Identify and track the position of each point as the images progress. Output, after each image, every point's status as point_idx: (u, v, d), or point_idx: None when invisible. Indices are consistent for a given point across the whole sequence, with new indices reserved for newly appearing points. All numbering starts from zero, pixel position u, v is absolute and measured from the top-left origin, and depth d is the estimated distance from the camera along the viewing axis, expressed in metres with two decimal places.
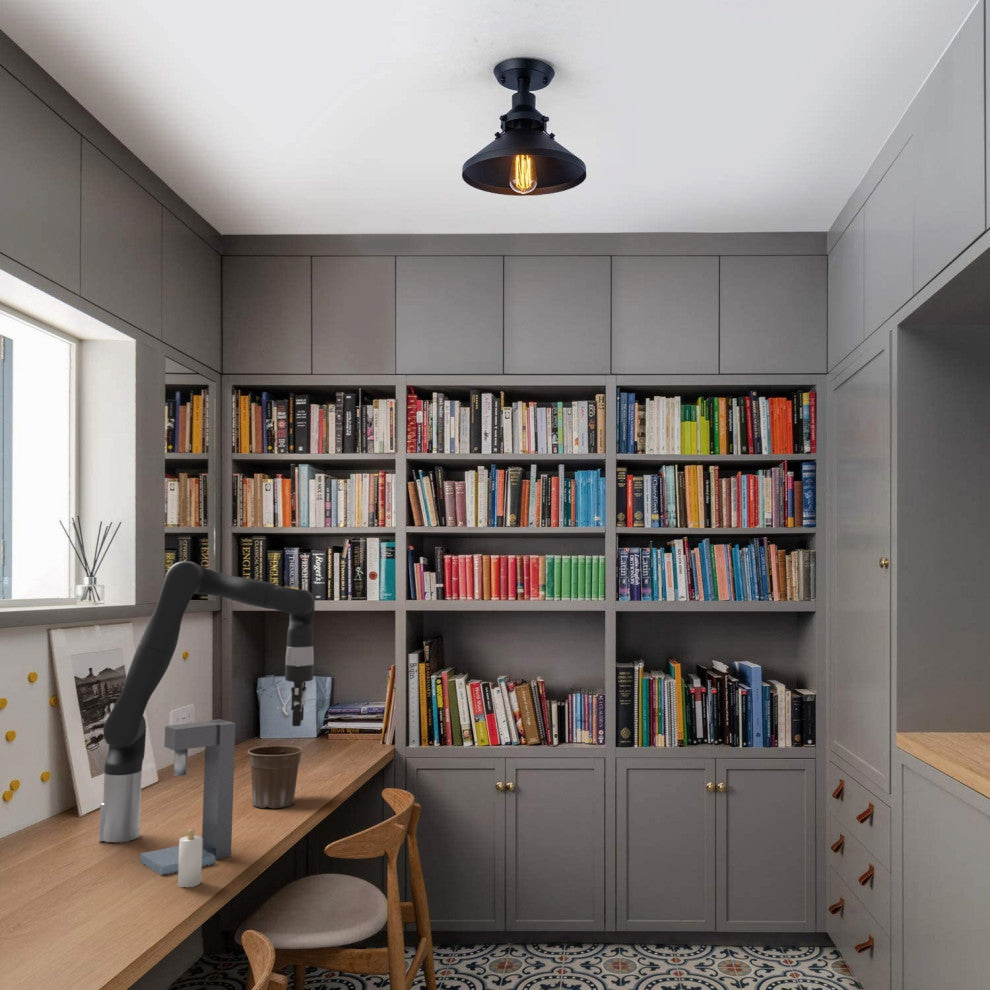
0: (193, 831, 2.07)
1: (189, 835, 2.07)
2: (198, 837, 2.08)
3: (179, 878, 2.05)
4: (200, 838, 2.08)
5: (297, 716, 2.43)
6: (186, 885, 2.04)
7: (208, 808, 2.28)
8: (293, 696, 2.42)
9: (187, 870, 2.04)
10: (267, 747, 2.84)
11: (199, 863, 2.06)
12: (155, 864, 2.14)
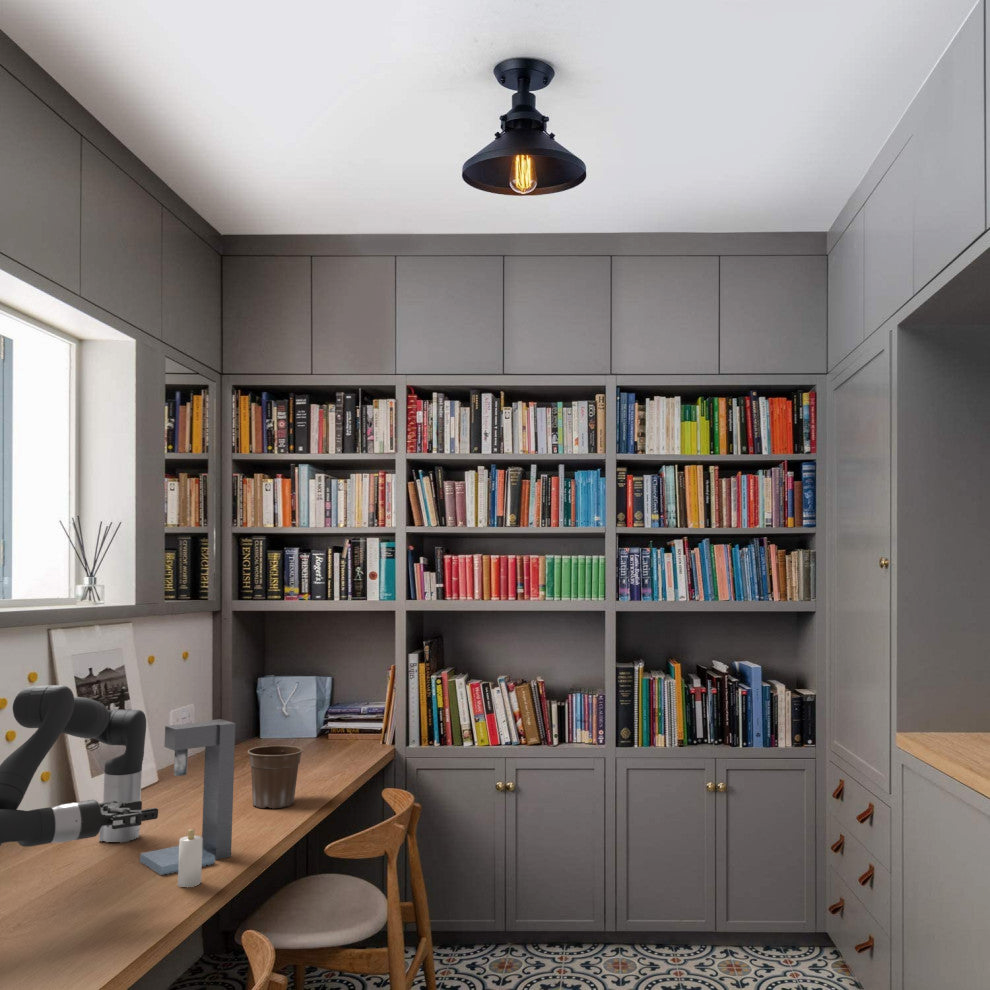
0: (193, 831, 2.07)
1: (189, 835, 2.07)
2: (198, 837, 2.08)
3: (179, 878, 2.05)
4: (200, 838, 2.08)
5: None
6: (186, 885, 2.04)
7: (208, 808, 2.28)
8: None
9: (187, 870, 2.04)
10: (267, 747, 2.84)
11: (199, 863, 2.06)
12: (155, 864, 2.14)
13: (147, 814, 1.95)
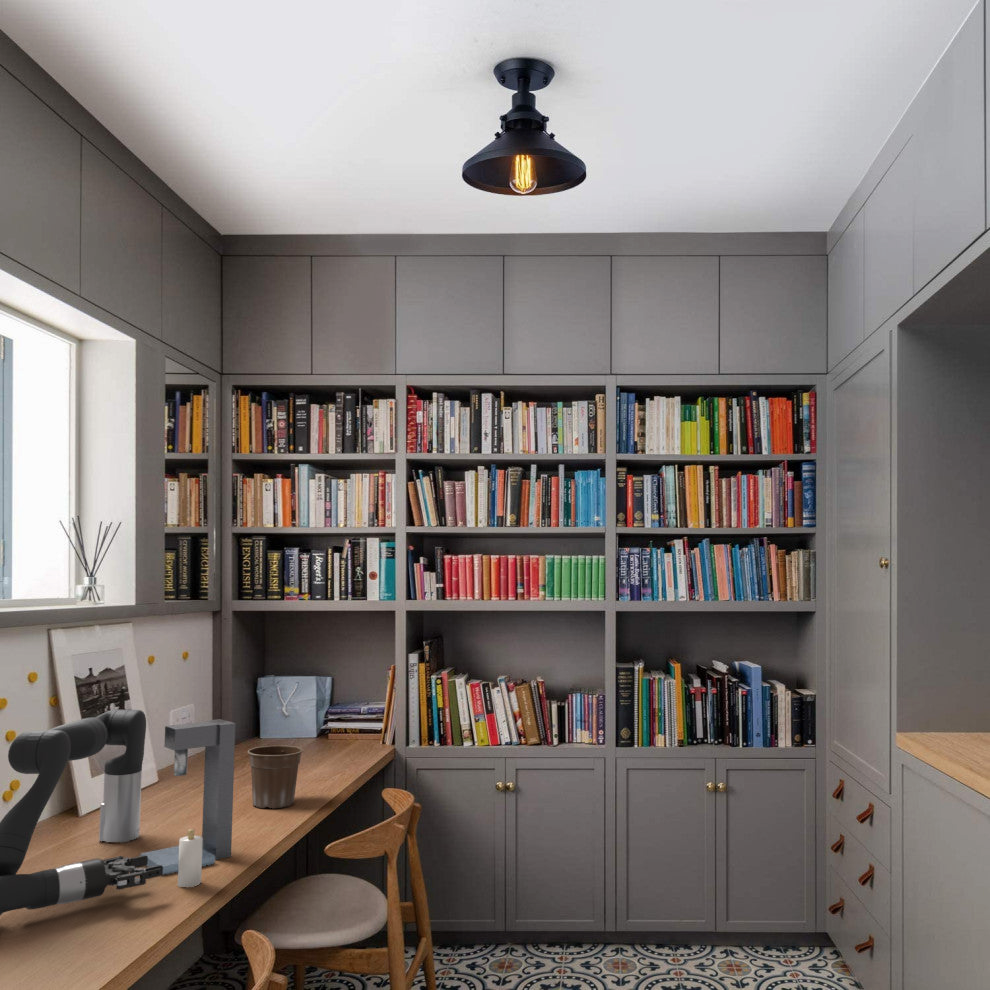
0: (193, 831, 2.07)
1: (189, 835, 2.07)
2: (198, 837, 2.08)
3: (179, 878, 2.05)
4: (200, 838, 2.08)
5: None
6: (186, 885, 2.04)
7: (208, 808, 2.28)
8: None
9: (187, 870, 2.04)
10: (267, 747, 2.84)
11: (199, 863, 2.06)
12: (155, 864, 2.14)
13: (152, 872, 1.96)
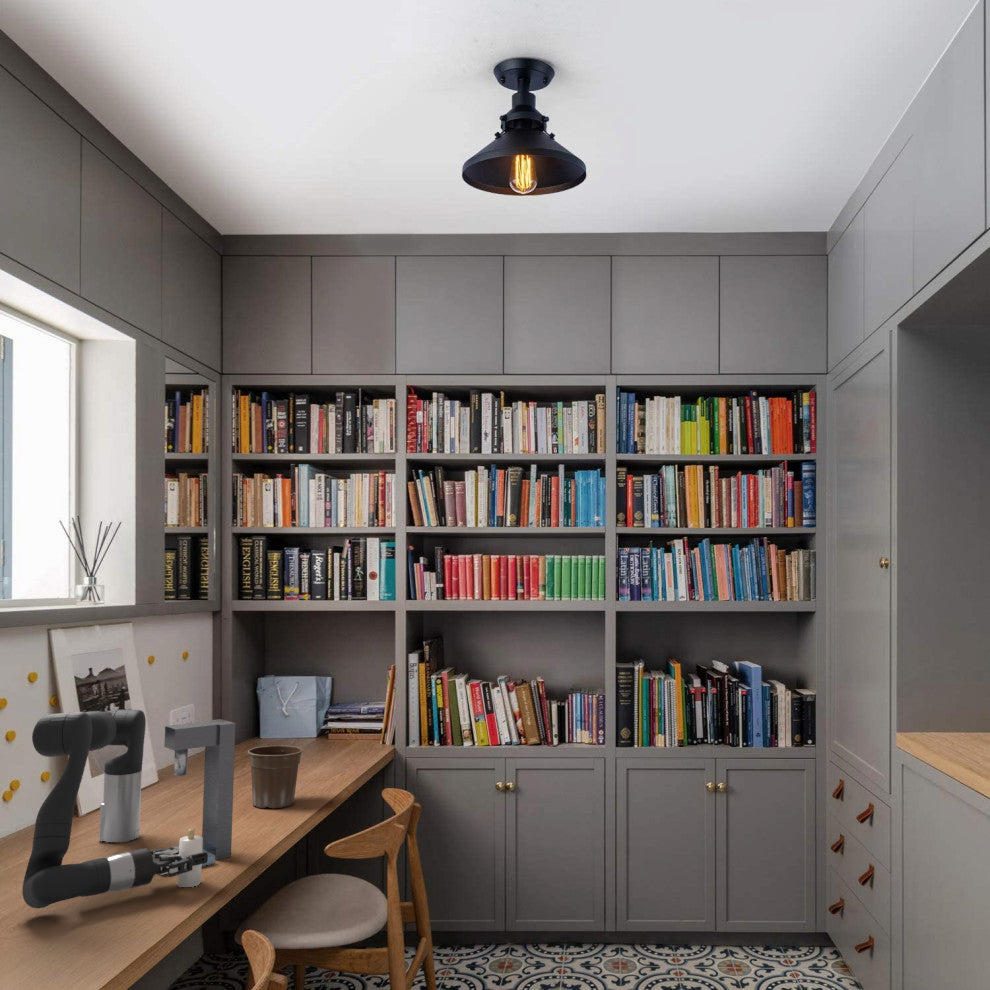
0: (193, 831, 2.07)
1: (189, 835, 2.07)
2: (198, 837, 2.08)
3: (179, 878, 2.05)
4: (200, 838, 2.08)
5: None
6: (186, 885, 2.04)
7: (208, 808, 2.28)
8: None
9: None
10: (267, 747, 2.84)
11: None
12: None
13: (197, 859, 2.04)
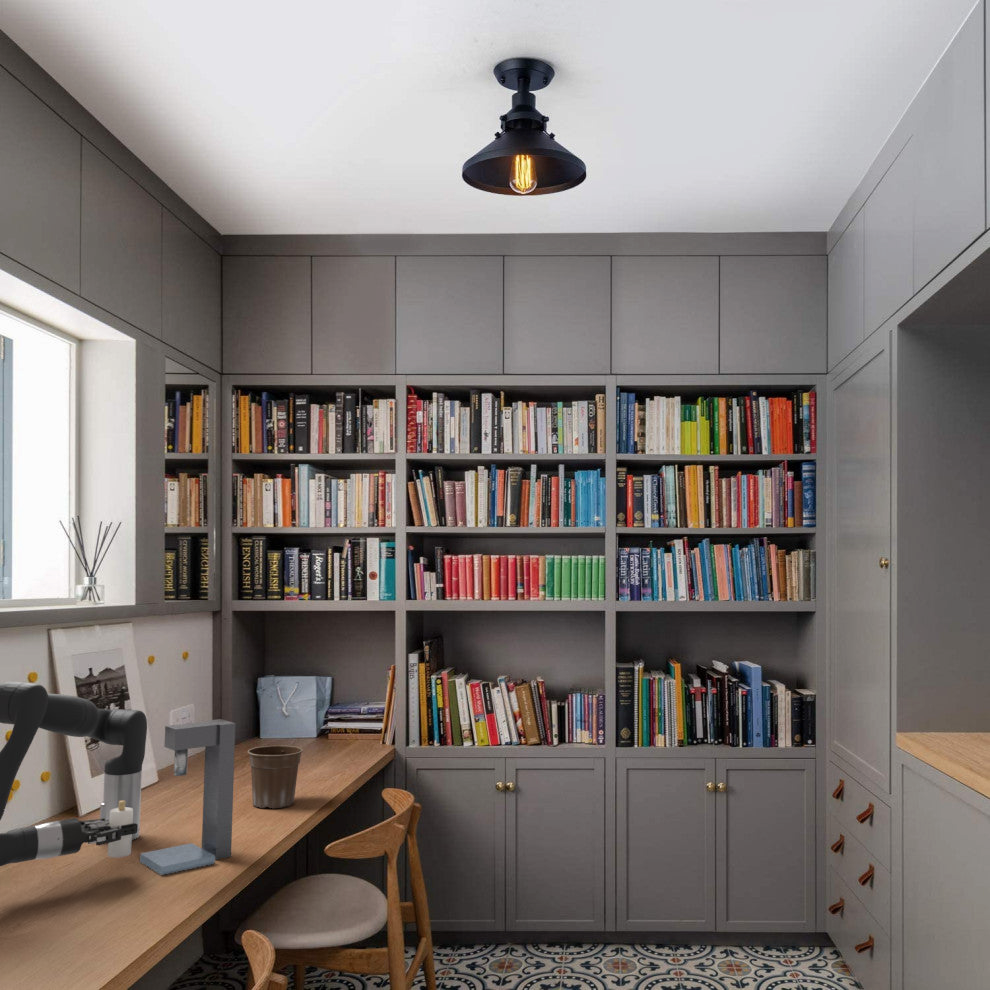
0: (124, 802, 2.13)
1: (119, 806, 2.12)
2: (129, 808, 2.14)
3: (109, 848, 2.10)
4: (130, 809, 2.13)
5: None
6: (115, 855, 2.09)
7: (208, 808, 2.28)
8: None
9: None
10: (267, 747, 2.84)
11: None
12: (155, 864, 2.14)
13: (127, 829, 2.10)
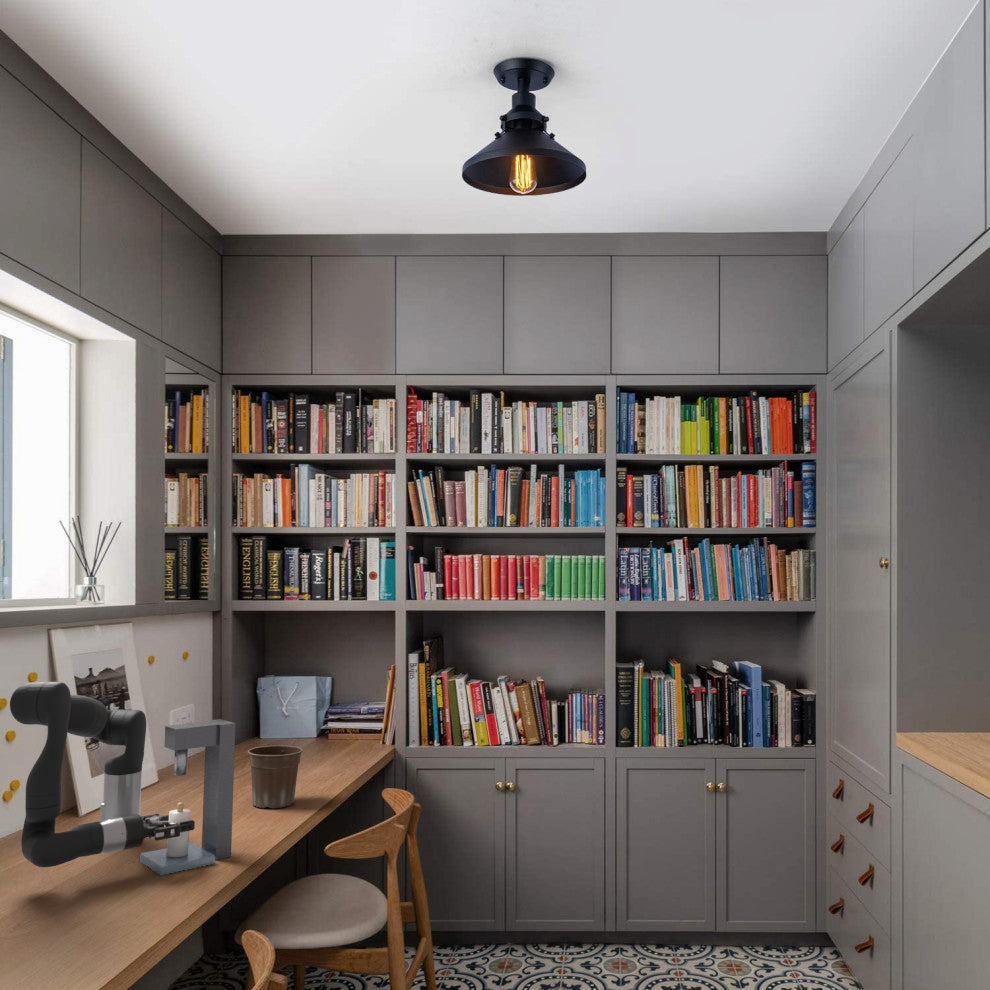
0: (182, 804, 2.22)
1: (178, 808, 2.22)
2: (187, 810, 2.23)
3: (167, 848, 2.19)
4: (188, 811, 2.22)
5: None
6: (174, 854, 2.19)
7: (208, 808, 2.28)
8: None
9: (175, 840, 2.19)
10: (267, 747, 2.84)
11: (187, 835, 2.21)
12: (155, 864, 2.14)
13: (185, 826, 2.18)
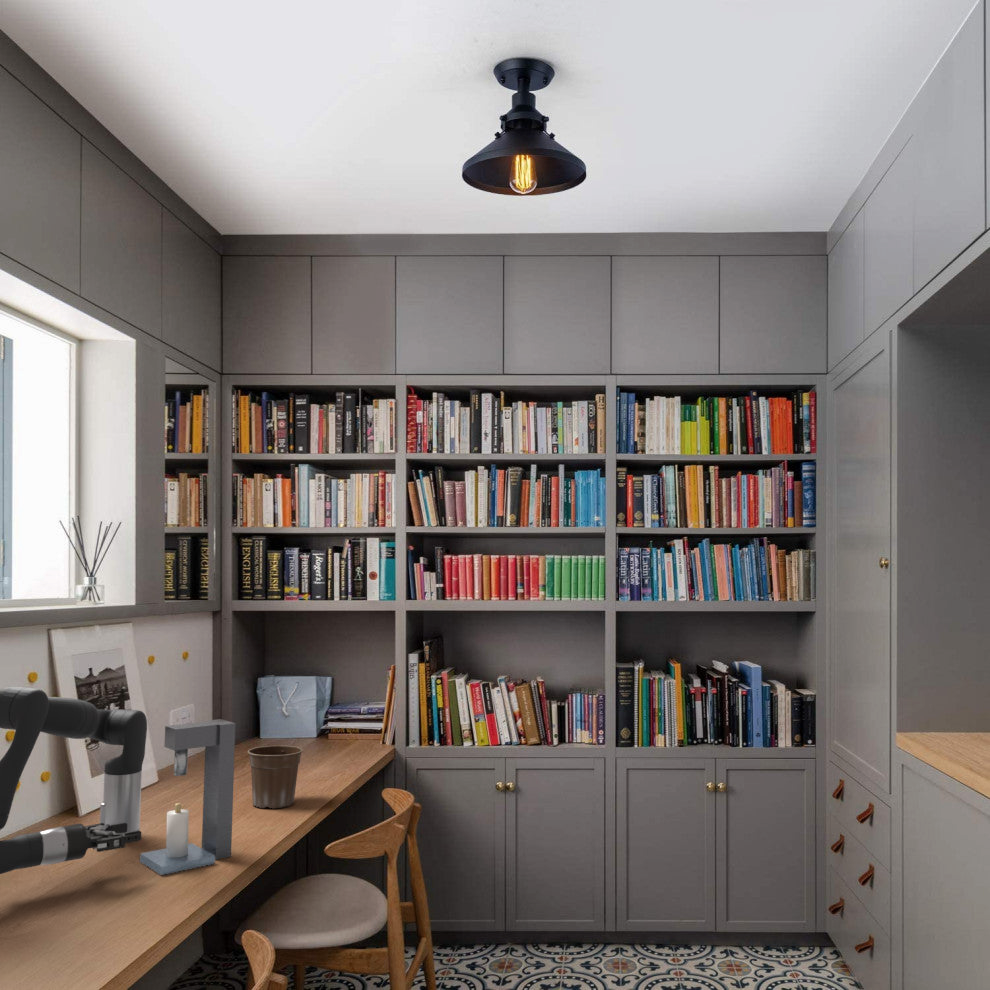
0: (179, 805, 2.21)
1: (176, 809, 2.21)
2: (184, 811, 2.23)
3: (167, 849, 2.19)
4: (186, 811, 2.22)
5: None
6: (173, 855, 2.19)
7: (208, 808, 2.28)
8: None
9: (174, 841, 2.19)
10: (267, 747, 2.84)
11: (186, 835, 2.20)
12: (155, 864, 2.14)
13: (130, 837, 2.09)
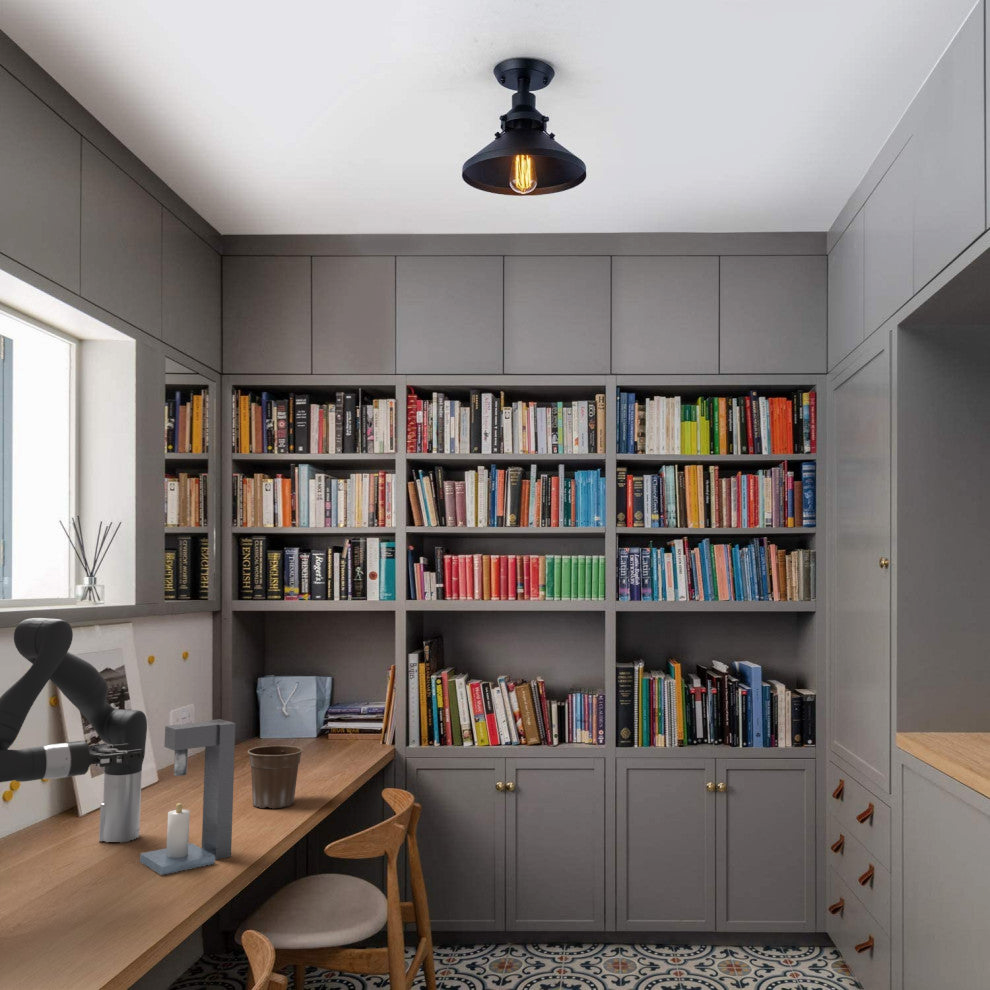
0: (181, 805, 2.21)
1: (177, 809, 2.21)
2: (186, 811, 2.23)
3: (167, 848, 2.19)
4: (187, 812, 2.22)
5: None
6: (173, 855, 2.19)
7: (208, 808, 2.28)
8: None
9: (174, 841, 2.19)
10: (267, 747, 2.84)
11: (186, 835, 2.20)
12: (155, 864, 2.14)
13: (133, 754, 2.10)
